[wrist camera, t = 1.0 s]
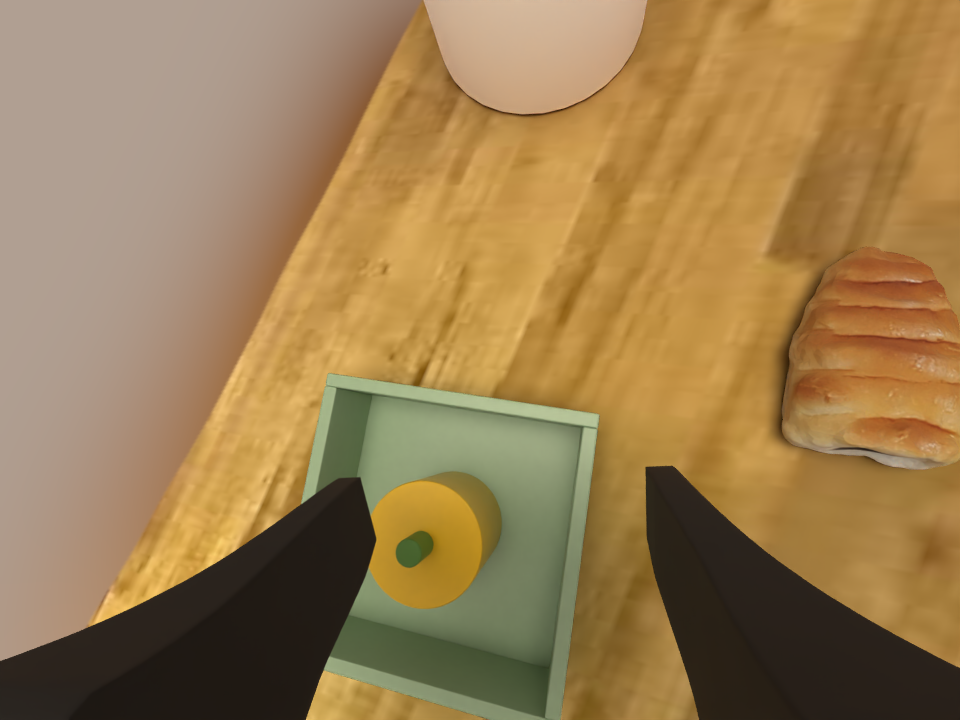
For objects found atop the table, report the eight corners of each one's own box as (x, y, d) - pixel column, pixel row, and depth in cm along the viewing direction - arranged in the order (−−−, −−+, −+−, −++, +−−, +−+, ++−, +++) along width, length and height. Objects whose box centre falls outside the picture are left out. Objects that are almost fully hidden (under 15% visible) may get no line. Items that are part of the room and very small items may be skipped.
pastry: (782, 256, 23) (823, 221, 19) (944, 267, 22) (1021, 232, 18) (770, 450, 22) (811, 453, 18) (940, 474, 21) (1023, 482, 17)
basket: (560, 679, 22) (557, 740, 18) (324, 615, 25) (269, 654, 20) (594, 418, 24) (599, 414, 19) (369, 383, 26) (327, 372, 22)
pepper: (477, 590, 23) (439, 653, 16) (392, 543, 24) (324, 584, 17) (517, 497, 23) (495, 521, 17) (431, 455, 24) (379, 462, 18)
